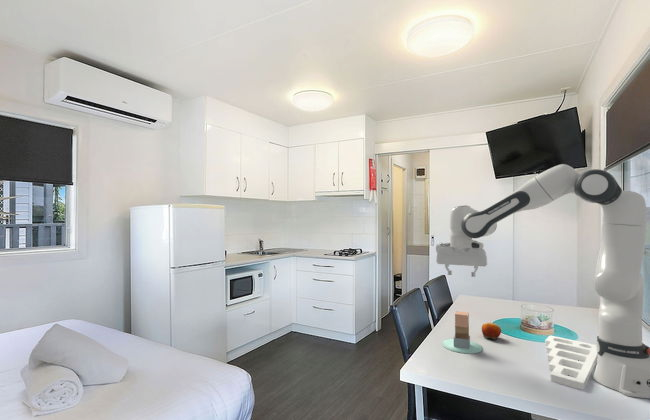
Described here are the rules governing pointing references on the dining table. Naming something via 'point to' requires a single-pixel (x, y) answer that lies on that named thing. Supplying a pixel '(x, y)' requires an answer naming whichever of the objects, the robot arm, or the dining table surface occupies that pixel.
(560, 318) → the dining table surface
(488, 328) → the fruit
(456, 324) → the terracotta block
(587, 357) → the trivet
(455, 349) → the mint green round disc
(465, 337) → the walnut block
